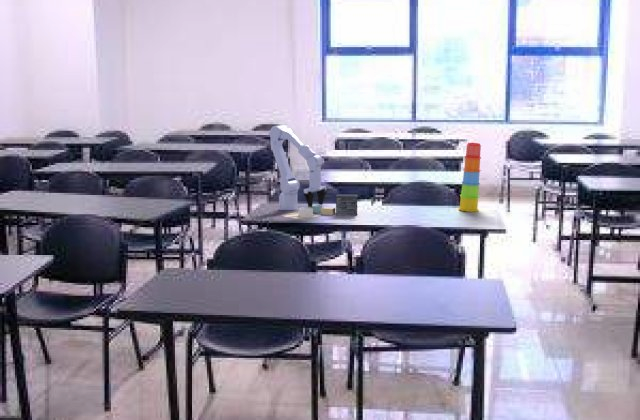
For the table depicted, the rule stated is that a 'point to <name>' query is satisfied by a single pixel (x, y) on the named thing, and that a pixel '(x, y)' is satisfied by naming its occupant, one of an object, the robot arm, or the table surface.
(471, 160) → the stacking cups
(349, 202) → the small box
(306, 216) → the white brick
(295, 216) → the building board
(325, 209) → the mustard brick
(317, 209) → the teal brick
